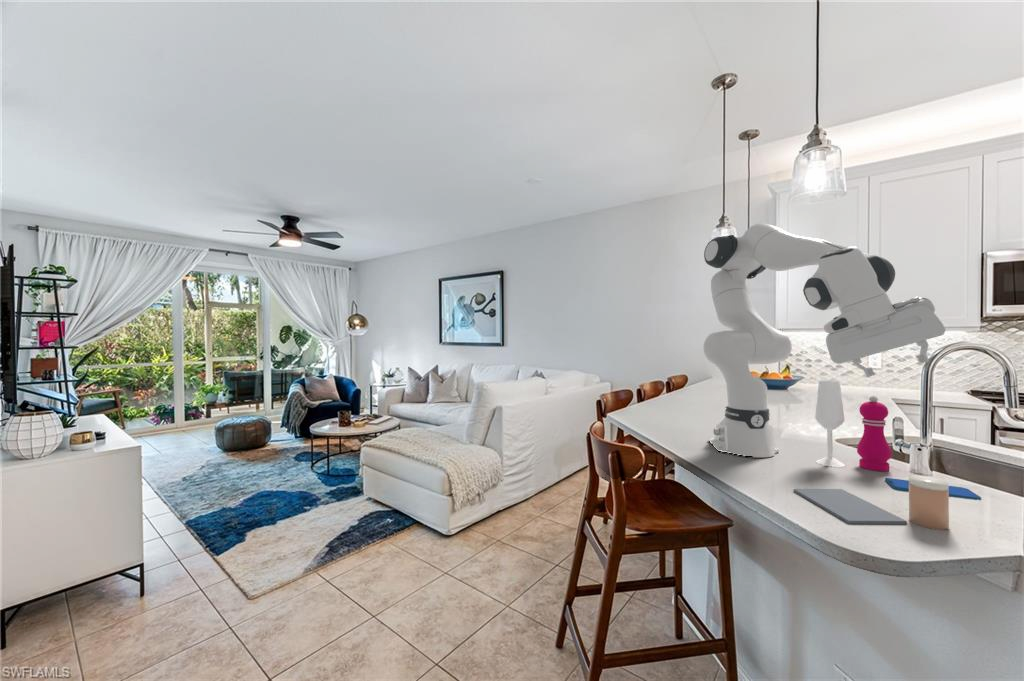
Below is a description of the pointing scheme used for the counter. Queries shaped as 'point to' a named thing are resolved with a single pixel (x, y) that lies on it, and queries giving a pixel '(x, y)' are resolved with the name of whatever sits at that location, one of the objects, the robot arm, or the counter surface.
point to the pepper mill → (874, 437)
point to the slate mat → (849, 507)
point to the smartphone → (953, 490)
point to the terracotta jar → (929, 502)
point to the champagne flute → (829, 415)
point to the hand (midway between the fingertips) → (896, 369)
